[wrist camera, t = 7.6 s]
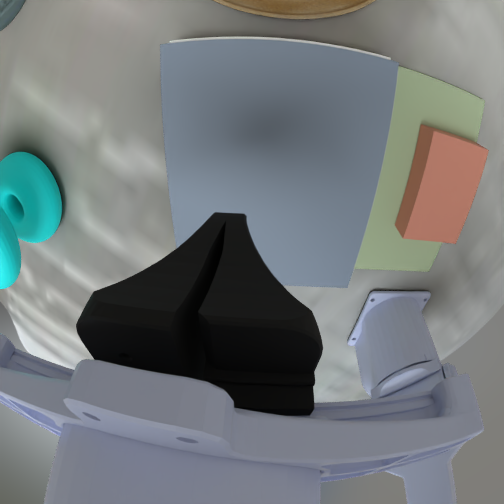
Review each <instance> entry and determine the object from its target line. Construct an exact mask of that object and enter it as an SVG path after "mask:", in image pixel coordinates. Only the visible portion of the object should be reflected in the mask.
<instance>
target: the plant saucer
mask: <svg viewBox="0 0 504 504" xmlns="http://www.w3.org/2000/svg"><path fill="white" fill-rule="evenodd" d="M214 1H216V2H218V3H220V4H223V5H225V6H228V7H231V8H233V9H236V10H240V11H244V12H247V13H252V14H256V15H262V16H268V17H275V18H286V19H317V18H326V17H332V16H338V15H342V14H346V13H349V12H353V11H356V10H359V9H361V8H363V7H365V6H367V5H369V4H371V3H372V2H374V1H375V0H214Z"/></svg>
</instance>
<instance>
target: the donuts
mask: <svg viewBox="0 0 504 504" xmlns="http://www.w3.org/2000/svg"><path fill="white" fill-rule="evenodd" d="M61 215H62V201H61V195H60V191H59V188H58V185H57V183H56V180H55V178H54V176H53V175H52V173H51V172H50V170H49V169H48V167H47V166H46V165H45V164H44V163H43V162H42V161H41V160H40V159H39V158H37V157H36V156H34V155H32V154H30V153H27V152H15V153H11V154H9V155H8V156H6V157H5V158H4V159H3V160H2V161H1V162H0V289H4V288H8V287H10V286H11V285H12V284H13V283H14V282H15V281H16V279H17V278H18V275H19V273H20V268H21V251H20V246H19V242H18V238H19V239H21V240H24V241H26V242H31V243H38V242H42V241H45V240H47V239H48V238H50V237H51V236H52V235H53V234H54V233H55V231H56V230H57V228H58V226H59V224H60V220H61ZM17 237H18V238H17Z"/></svg>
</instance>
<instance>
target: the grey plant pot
mask: <svg viewBox="0 0 504 504" xmlns="http://www.w3.org/2000/svg"><path fill="white" fill-rule="evenodd" d="M24 2H25V0H0V31H1V30H2V29H4V28H5V27H6V26H7V25H8V24H9V23H10V22H11V21H12V20H13V19H14V18H15V16H16V15H17V14H18V12H19V11H20V9H21V7H22V6H23V4H24Z"/></svg>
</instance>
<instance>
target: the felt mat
mask: <svg viewBox="0 0 504 504" xmlns="http://www.w3.org/2000/svg"><path fill="white" fill-rule="evenodd" d="M484 103H485V101H484V100H482V99H480V98H478V97H476V96H474V95H472V94H470V93H468V92H466V91H464V90H462V89H459V88H457V87H455V86H452V85H450V84H448V83H445V82H443V81H440V80H438V79H435V78H432V77H430V76H427V75H424V74H422V73H419V72H416V71H413V70H410V69H407V68H403V67H400V66H398V77H397V86H396V93H395V100H394V107H393V113H392V119H391V125H390V131H389V136H388V141H387V146H386V151H385V156H384V161H383V165H382V170H381V174H380V178H379V183H378V187H377V191H376V195H375V199H374V203H373V206H372V210H371V214H370V218H369V221H368V225H367V228H366V232H365V235H364V238H363V242H362V245H361V248H360V251H359V255H358V258H357V261H356V264H355V267H354V269H376V270H398V271H423V272H429V270H430V268H431V266H432V264H433V262H434V260H435V258H436V256H437V254H438V251H439V249H440V247H441V245H442V243H443V242H434V241H423V240H412V239H403V238H402V236H401V235H400V233H399V231H398V230H397V228H396V227H395V222H396V219H397V216H398V213H399V210H400V207H401V203H402V200H403V196H404V193H405V189H406V186H407V182H408V178H409V175H410V171H411V167H412V163H413V159H414V154H415V150H416V145H417V141H418V136H419V131H420V126H421V124H422V125H426V126H429V127H433V128H436V129H439V130H442V131H445V132H448V133H451V134H454V135H457V136H460V137H463V138H466V139H468V140H471V141H474V142H476V143H477V138H478V134H479V130H480V125H481V120H482V115H483V109H484Z"/></svg>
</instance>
